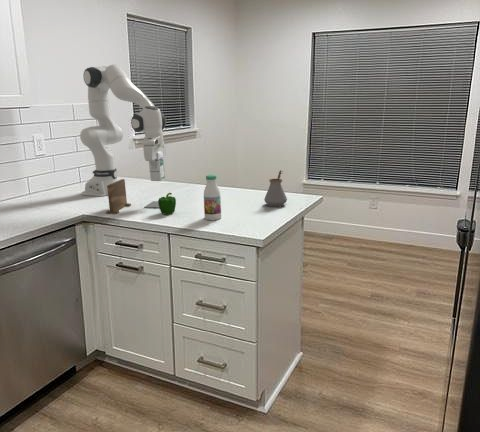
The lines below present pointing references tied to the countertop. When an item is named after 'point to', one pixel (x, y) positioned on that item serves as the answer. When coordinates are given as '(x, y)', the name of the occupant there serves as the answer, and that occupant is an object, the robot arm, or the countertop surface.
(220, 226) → the countertop surface
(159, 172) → the syrup box
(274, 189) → the coffee pot
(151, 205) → the coaster
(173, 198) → the bell pepper
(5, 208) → the countertop surface
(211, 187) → the milk bottle
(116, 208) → the brown wooden display stand
